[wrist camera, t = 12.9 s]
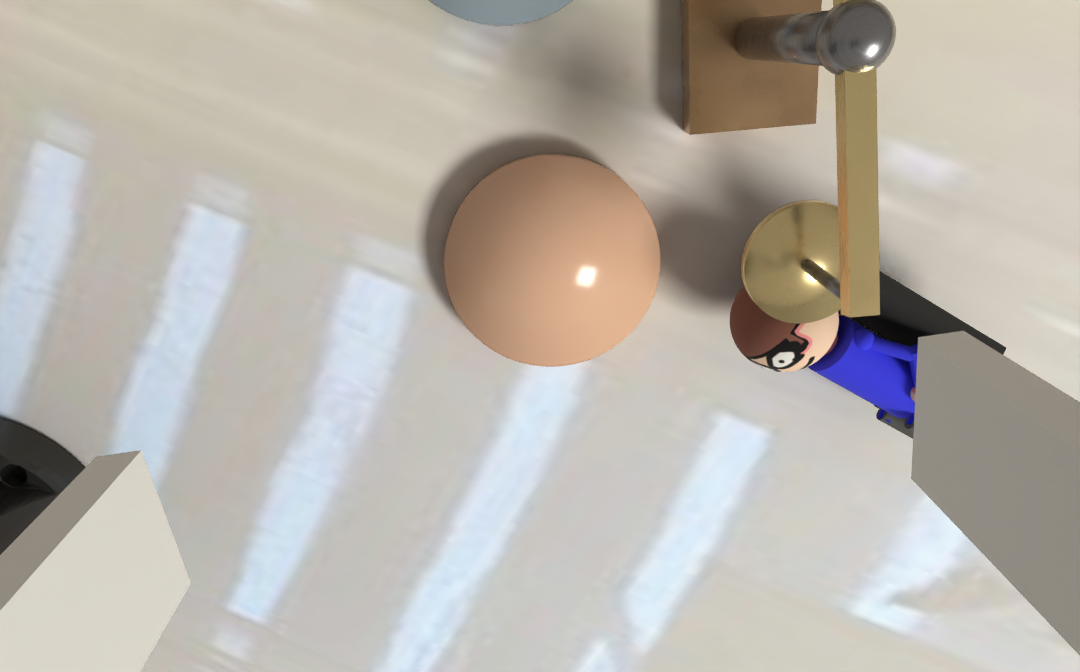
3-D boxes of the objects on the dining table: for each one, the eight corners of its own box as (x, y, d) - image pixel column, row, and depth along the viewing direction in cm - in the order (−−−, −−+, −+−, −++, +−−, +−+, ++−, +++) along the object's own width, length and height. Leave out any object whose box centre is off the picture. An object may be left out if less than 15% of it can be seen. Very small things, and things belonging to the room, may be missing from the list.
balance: (685, 267, 40) (774, 385, 26) (678, -234, 32) (799, -438, 18) (798, 257, 40) (946, 370, 26) (819, -246, 32) (1048, -461, 18)
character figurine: (905, 429, 45) (696, 304, 41) (997, 332, 42) (781, 192, 39) (972, 513, 37) (726, 371, 34) (1088, 403, 35) (831, 238, 32)
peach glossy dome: (459, 366, 42) (457, 375, 41) (432, 163, 38) (429, 167, 37) (659, 348, 42) (663, 357, 41) (653, 144, 38) (657, 147, 37)
